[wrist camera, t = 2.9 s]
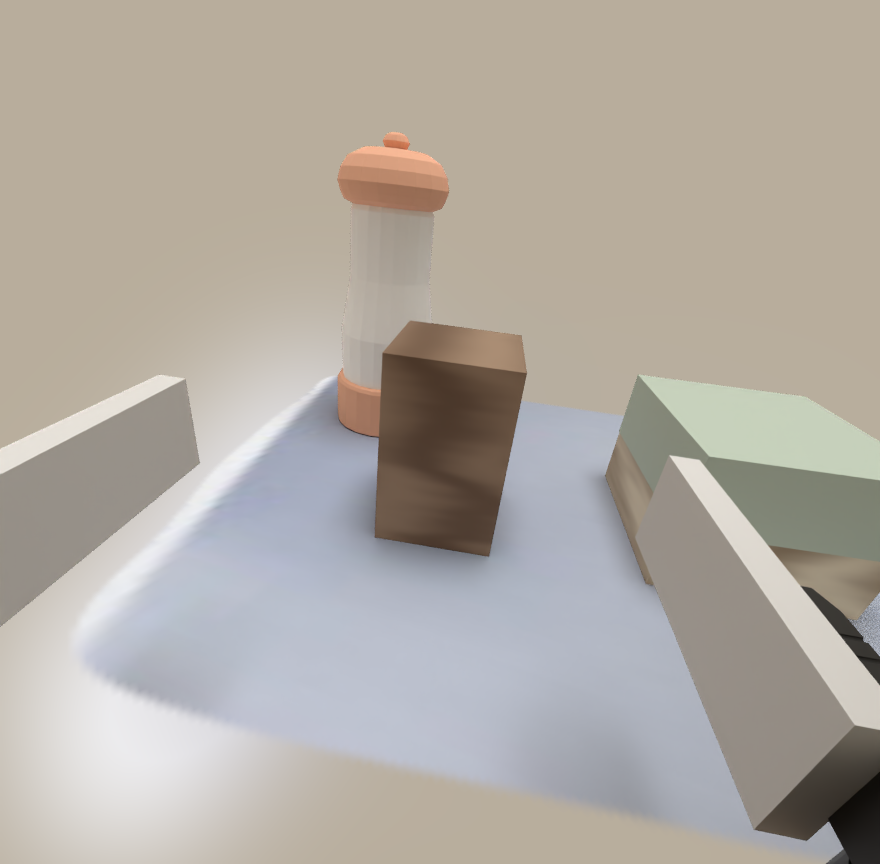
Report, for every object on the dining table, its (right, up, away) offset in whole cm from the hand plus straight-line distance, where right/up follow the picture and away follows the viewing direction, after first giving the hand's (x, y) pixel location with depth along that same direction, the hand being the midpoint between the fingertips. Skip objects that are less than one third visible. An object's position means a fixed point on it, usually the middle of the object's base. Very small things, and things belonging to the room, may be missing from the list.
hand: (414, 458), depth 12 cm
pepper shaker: (-4, +2, +23) cm, 24 cm away
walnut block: (+1, -4, +13) cm, 14 cm away
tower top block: (+17, -2, +12) cm, 21 cm away
